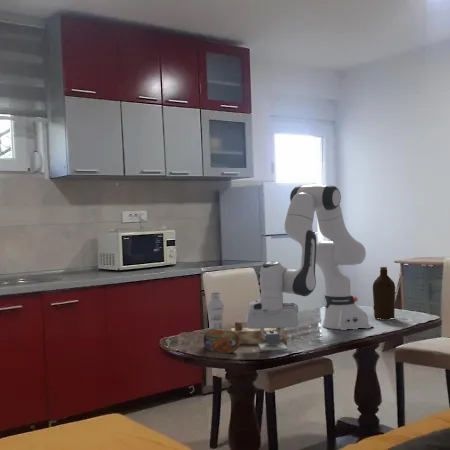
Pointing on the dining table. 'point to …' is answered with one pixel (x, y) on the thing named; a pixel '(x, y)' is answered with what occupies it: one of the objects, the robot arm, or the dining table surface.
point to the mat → (272, 346)
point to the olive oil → (384, 296)
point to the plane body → (254, 334)
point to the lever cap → (272, 337)
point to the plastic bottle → (216, 312)
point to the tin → (221, 340)
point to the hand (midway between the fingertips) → (272, 339)
